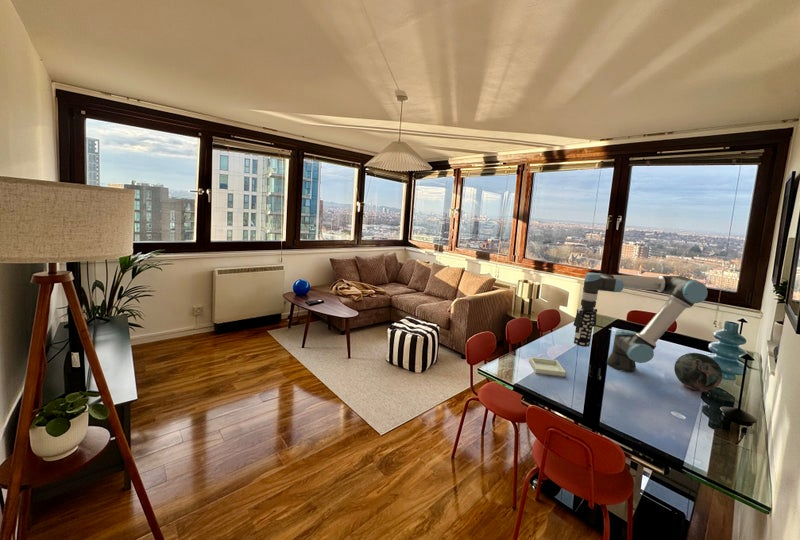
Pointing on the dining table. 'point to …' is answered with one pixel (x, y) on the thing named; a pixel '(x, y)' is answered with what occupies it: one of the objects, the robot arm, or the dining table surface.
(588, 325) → the spotted tube
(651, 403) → the dining table surface
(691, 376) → the decorative sphere
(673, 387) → the dining table surface
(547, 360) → the tray
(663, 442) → the dining table surface
